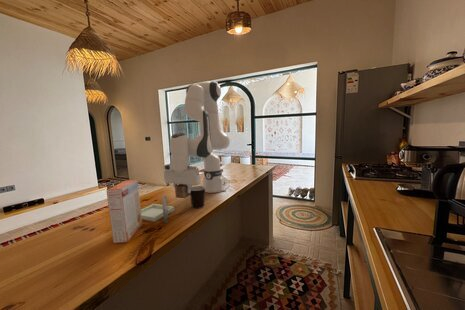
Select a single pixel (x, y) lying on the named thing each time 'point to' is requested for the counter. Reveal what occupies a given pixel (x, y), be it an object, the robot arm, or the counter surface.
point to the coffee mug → (197, 196)
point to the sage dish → (154, 212)
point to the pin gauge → (165, 209)
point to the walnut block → (181, 191)
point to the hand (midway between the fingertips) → (183, 192)
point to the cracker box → (124, 210)
